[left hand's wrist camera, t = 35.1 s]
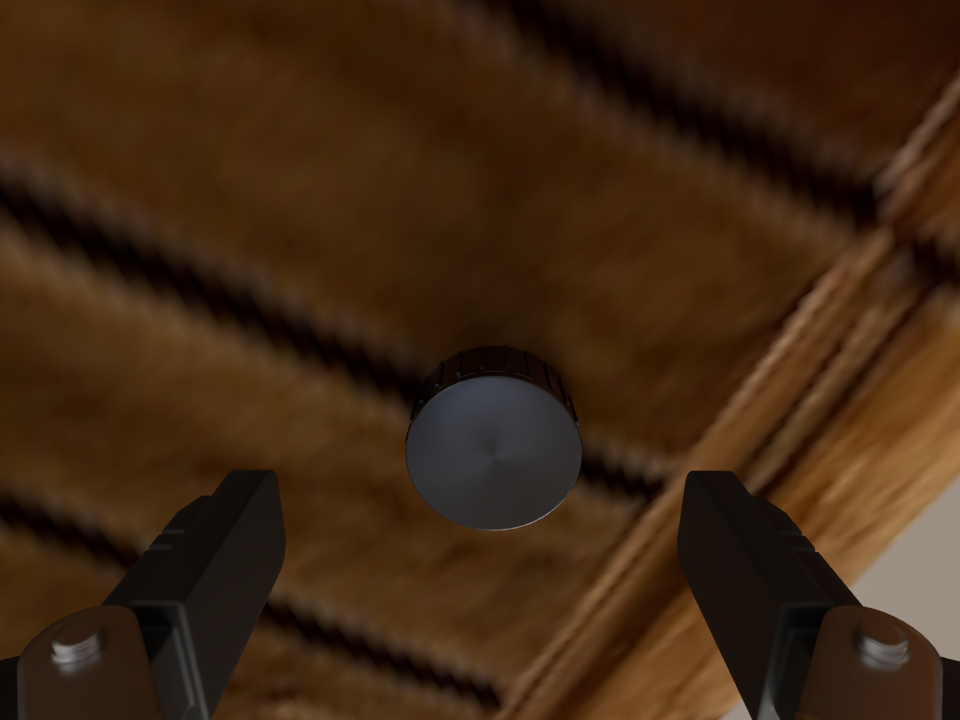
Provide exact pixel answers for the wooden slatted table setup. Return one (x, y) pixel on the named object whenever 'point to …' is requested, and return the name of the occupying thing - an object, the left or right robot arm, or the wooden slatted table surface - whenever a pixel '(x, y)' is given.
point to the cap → (493, 439)
